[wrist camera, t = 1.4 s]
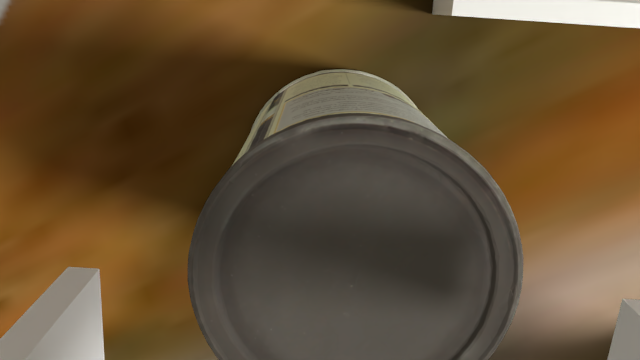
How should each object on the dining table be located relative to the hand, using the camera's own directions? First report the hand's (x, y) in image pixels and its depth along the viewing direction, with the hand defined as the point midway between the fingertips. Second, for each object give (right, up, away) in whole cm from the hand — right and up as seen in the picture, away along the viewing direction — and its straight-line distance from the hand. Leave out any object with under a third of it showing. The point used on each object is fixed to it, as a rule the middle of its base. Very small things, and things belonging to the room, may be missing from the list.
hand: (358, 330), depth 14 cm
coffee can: (0, +5, +17) cm, 17 cm away
